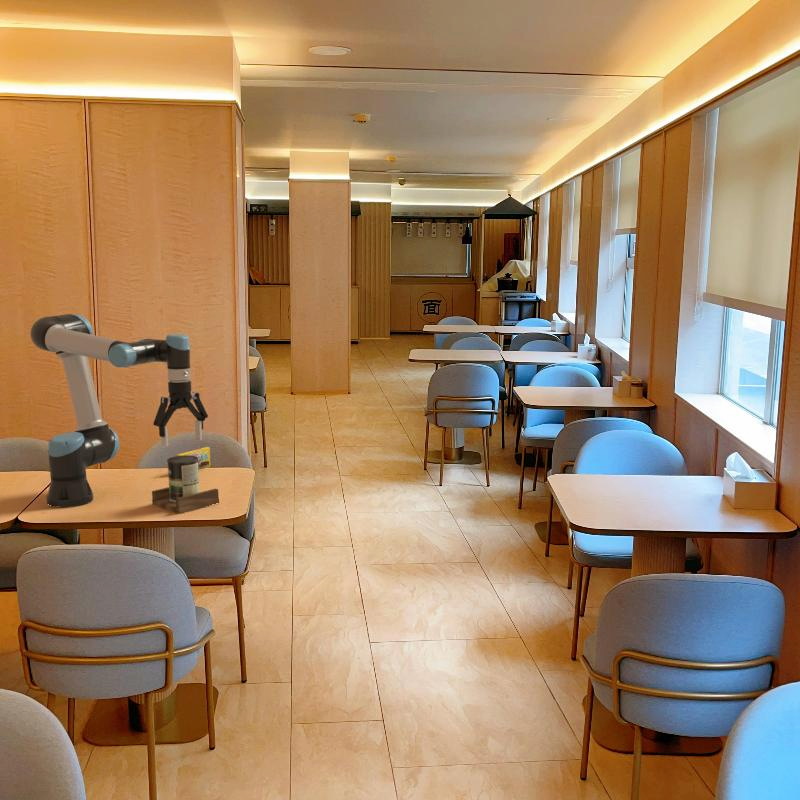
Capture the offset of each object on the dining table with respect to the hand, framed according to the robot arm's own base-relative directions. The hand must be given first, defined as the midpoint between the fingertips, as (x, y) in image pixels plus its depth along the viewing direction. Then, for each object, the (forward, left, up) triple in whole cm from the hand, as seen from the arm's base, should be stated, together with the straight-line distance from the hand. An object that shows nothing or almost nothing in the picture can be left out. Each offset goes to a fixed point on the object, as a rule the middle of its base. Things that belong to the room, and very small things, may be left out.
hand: (182, 442), depth 306 cm
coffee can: (0, 0, -20) cm, 20 cm away
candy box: (-37, +30, -22) cm, 52 cm away
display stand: (0, 0, -22) cm, 22 cm away
